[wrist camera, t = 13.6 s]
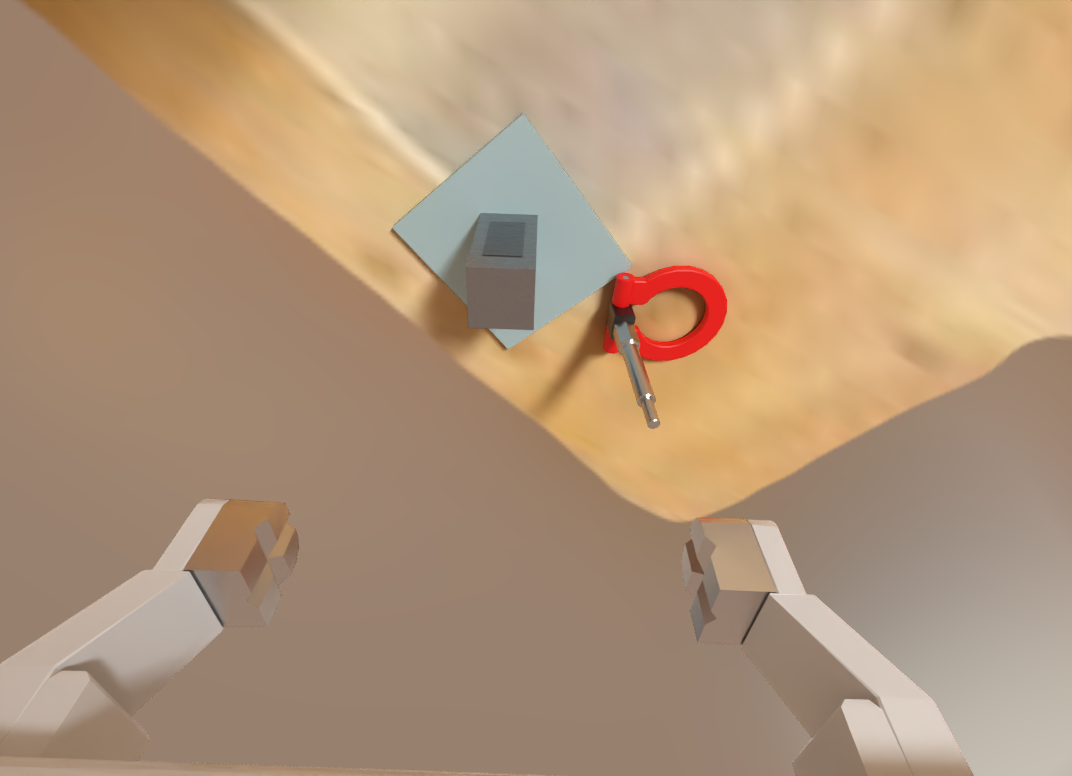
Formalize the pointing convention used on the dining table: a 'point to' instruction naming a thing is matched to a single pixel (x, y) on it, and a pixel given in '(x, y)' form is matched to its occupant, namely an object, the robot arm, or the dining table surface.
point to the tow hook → (636, 345)
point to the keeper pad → (517, 188)
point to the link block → (502, 272)
